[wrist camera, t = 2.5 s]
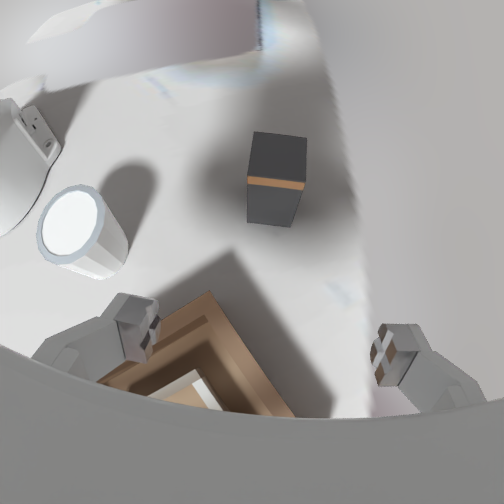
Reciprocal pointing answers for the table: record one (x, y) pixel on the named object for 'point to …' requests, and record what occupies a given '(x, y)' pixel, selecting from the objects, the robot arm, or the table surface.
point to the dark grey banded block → (275, 178)
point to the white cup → (82, 233)
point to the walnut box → (201, 366)
